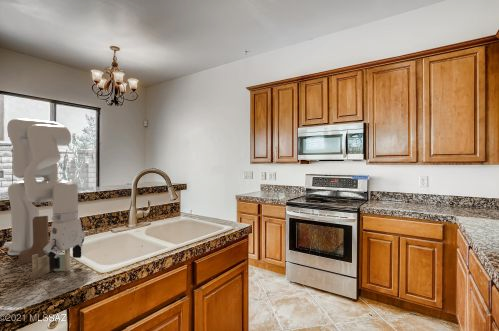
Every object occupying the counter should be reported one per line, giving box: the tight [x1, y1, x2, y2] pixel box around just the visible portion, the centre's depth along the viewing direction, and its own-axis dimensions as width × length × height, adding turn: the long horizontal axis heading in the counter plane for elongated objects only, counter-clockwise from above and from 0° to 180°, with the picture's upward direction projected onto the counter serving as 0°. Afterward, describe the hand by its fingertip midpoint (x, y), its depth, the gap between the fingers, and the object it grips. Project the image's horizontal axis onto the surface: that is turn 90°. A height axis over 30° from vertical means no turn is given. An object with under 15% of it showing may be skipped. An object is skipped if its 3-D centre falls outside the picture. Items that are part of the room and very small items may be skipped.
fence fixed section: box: [31, 251, 56, 280], centre depth 93 cm, size 8×2×9 cm, turn 173°
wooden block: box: [18, 215, 50, 265], centre depth 105 cm, size 9×4×18 cm, turn 122°
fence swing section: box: [54, 248, 71, 273], centre depth 95 cm, size 6×2×8 cm, turn 85°
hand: (66, 262), depth 95 cm, fingers open, 9 cm apart
